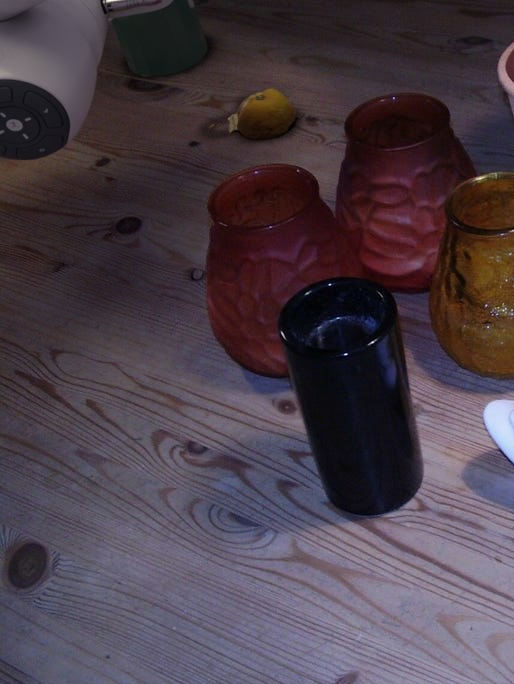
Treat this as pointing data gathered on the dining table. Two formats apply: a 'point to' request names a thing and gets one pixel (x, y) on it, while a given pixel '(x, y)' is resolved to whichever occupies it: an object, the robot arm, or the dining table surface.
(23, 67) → the robot arm
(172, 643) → the dining table surface
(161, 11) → the holder
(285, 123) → the fruit
